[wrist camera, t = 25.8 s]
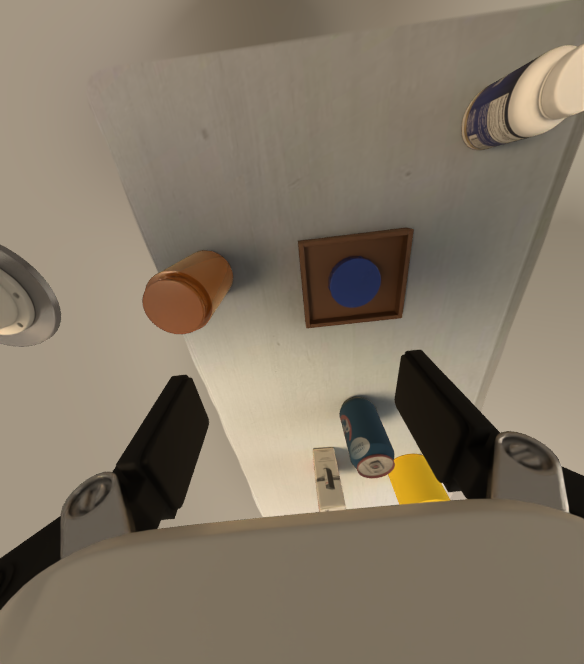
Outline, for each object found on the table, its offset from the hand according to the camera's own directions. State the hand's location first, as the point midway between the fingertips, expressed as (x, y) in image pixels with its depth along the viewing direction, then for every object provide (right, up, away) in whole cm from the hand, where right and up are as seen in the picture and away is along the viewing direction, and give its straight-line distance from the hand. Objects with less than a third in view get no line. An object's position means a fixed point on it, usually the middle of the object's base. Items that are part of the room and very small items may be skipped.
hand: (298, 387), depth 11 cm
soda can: (+12, -12, +36) cm, 40 cm away
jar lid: (+8, +9, +21) cm, 25 cm away
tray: (+8, +10, +23) cm, 26 cm away
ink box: (+7, -27, +44) cm, 52 cm away
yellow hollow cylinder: (+28, -30, +46) cm, 61 cm away
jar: (-12, +11, +22) cm, 27 cm away
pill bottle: (+21, +25, +15) cm, 36 cm away
